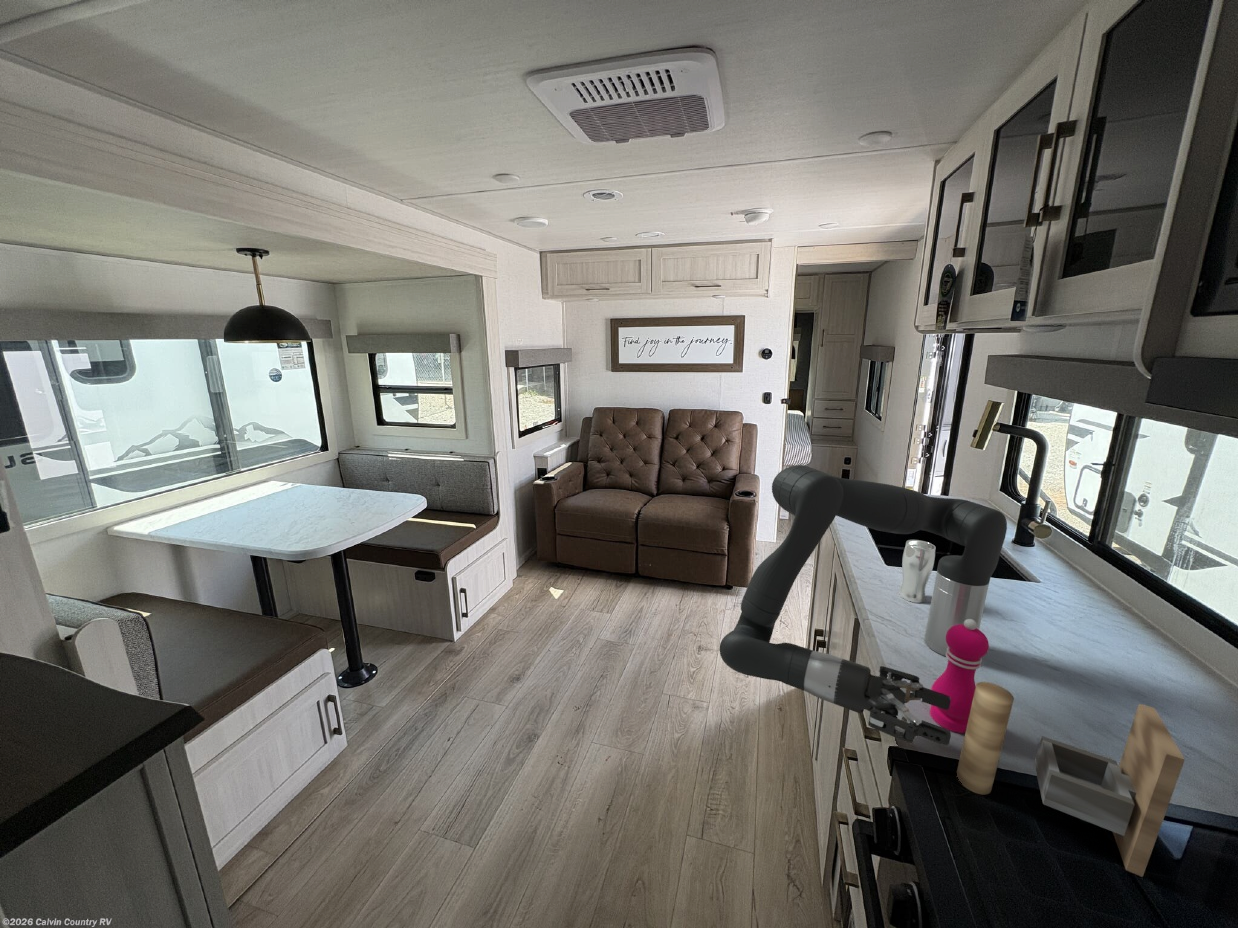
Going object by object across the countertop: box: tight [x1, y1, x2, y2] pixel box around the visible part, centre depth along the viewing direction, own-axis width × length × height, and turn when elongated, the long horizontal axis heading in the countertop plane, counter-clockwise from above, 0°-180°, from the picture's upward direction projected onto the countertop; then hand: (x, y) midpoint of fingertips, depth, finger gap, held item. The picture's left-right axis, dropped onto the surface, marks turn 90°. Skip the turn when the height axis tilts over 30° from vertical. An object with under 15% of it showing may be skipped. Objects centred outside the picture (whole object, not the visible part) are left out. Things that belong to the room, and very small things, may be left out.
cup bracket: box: [1033, 703, 1186, 878], centre depth 66 cm, size 10×10×18 cm
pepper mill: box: [929, 619, 990, 734], centre depth 84 cm, size 7×7×20 cm
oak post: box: [956, 681, 1015, 796], centre depth 73 cm, size 4×4×16 cm
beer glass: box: [898, 539, 936, 604], centre depth 127 cm, size 7×7×15 cm
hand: (949, 720), depth 75 cm, fingers open, 8 cm apart
